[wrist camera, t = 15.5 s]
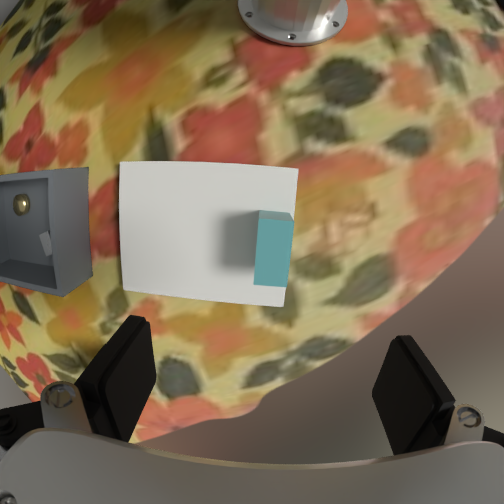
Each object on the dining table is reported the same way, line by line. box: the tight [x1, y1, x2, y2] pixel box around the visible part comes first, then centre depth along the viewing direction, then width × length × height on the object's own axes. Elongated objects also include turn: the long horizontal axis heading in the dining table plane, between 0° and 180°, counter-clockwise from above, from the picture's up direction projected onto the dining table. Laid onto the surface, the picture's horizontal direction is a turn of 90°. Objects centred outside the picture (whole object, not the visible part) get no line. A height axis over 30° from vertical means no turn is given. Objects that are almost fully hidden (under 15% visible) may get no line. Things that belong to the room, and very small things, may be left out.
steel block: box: [39, 230, 52, 256], centre depth 31 cm, size 3×2×2 cm, turn 16°
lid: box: [119, 161, 298, 307], centre depth 29 cm, size 15×19×7 cm
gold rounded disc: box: [13, 194, 30, 216], centre depth 30 cm, size 3×3×1 cm
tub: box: [0, 167, 93, 297], centre depth 29 cm, size 14×18×7 cm
